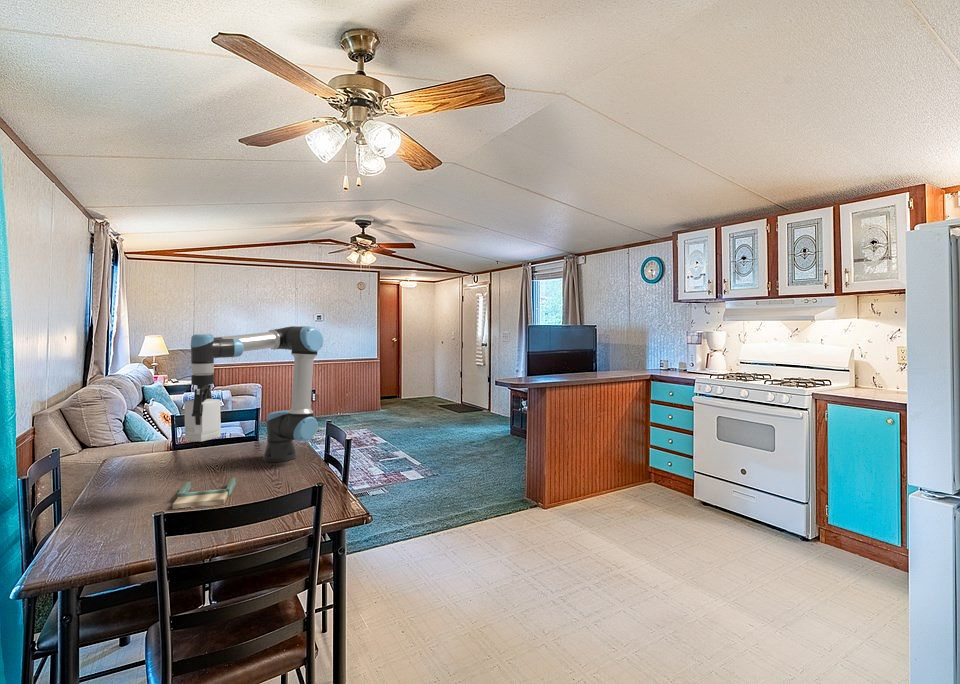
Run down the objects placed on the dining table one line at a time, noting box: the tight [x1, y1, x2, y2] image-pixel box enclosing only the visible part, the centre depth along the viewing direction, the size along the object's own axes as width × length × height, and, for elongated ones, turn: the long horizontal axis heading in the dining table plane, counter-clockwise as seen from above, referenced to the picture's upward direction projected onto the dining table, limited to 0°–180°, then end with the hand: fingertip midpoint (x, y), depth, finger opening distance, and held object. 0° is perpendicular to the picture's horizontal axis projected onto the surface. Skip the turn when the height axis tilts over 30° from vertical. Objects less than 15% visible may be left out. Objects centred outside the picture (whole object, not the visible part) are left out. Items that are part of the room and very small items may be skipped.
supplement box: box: [183, 398, 222, 442], centre depth 181 cm, size 9×9×15 cm
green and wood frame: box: [172, 476, 237, 510], centre depth 178 cm, size 17×22×3 cm
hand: (203, 429), depth 181 cm, fingers closed on supplement box, 12 cm apart
